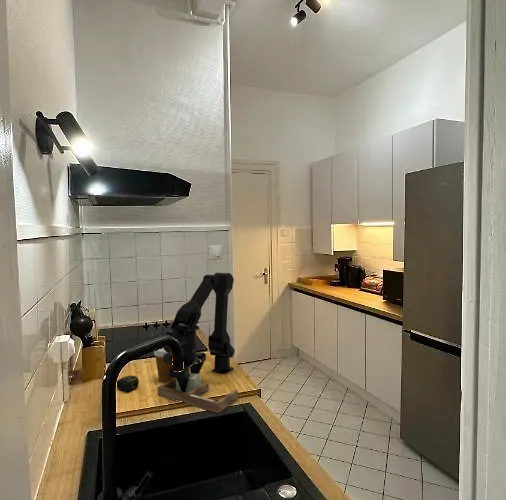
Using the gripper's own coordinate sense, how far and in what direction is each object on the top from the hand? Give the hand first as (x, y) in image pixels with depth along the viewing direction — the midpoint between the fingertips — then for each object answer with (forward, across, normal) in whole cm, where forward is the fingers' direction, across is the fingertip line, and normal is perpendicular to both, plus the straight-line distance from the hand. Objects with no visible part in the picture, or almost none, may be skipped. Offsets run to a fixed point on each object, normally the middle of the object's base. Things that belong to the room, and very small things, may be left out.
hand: (188, 387), depth 132 cm
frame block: (+1, 0, 0) cm, 1 cm away
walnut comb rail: (+1, +4, +5) cm, 6 cm away
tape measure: (+1, +4, -22) cm, 22 cm away
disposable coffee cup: (+1, -8, -12) cm, 15 cm away
